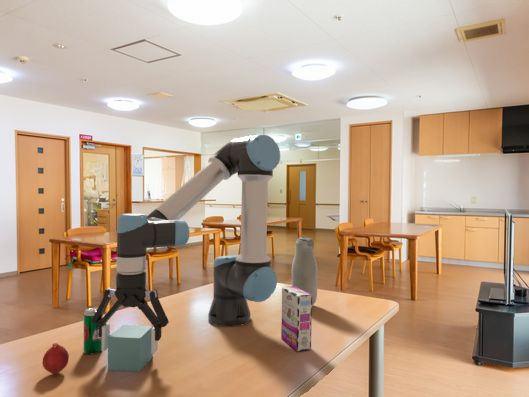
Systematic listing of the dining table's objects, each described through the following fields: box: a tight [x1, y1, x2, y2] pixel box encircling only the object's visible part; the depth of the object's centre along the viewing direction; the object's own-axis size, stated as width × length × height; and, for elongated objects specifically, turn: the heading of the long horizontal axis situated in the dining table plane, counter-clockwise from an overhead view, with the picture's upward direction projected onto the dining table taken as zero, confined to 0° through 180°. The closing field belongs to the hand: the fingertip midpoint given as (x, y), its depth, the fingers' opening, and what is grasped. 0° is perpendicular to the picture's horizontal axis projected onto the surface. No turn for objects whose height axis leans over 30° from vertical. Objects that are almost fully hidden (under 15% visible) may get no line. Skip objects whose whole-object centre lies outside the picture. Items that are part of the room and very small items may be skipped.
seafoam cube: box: [107, 324, 154, 372], centre depth 103 cm, size 9×9×9 cm
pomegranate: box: [42, 342, 70, 376], centre depth 96 cm, size 6×6×8 cm
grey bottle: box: [291, 236, 319, 306], centre depth 154 cm, size 10×10×28 cm
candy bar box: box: [280, 286, 313, 353], centre depth 117 cm, size 11×5×16 cm, turn 23°
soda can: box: [83, 306, 104, 355], centre depth 110 cm, size 5×5×12 cm
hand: (129, 350), depth 102 cm, fingers open, 13 cm apart
